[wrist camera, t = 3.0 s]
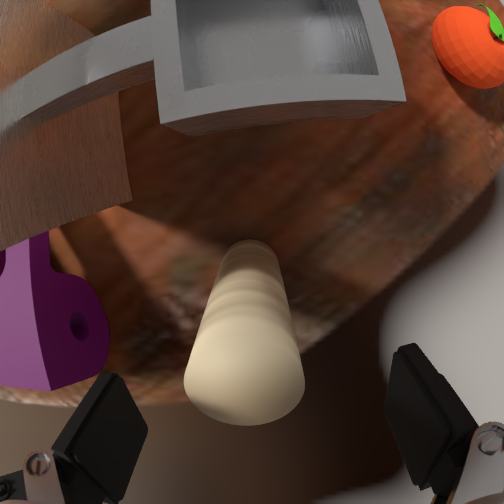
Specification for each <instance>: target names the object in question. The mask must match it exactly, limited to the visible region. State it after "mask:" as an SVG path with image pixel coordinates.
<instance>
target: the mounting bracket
mask: <svg viewBox="0 0 504 504" xmlns="http://www.w3.org/2000/svg"><path fill="white" fill-rule="evenodd" d="M109 343H110V336H109V326H108V321H107V317H106V315H105V313H104V311H103V309H102V306H101V304H100V302H99V300H98V297H97V295H96V293H95V290H94V289H93V288H92V287H91V286H90V284H89V283H87V282H86V281H85V280H84V279H82V278H80V277H78V276H76V275H71V274H63V273H57V272H55V271H54V270H53V269H52V267H51V264H50V255H49V230H48V231H46V232H44V233H41V234H39V235H36V236H34V237H32V238H29V239H27V240H25V241H22V242H20V243H18V244H15V245H13V246H11V247H9V248H7V249H4V250H2V251H0V385H4V386H11V387H18V388H26V389H35V390H45V391H53V390H56V389H59V388H62V387H65V386H68V385H71V384H74V383H76V382H79V381H82V380H85V379H88V378H91V377H93V376H95V375H96V374H98V373H99V372H100V371H101V369H102V368H103V366H104V364H105V362H106V360H107V356H108V352H109Z"/></svg>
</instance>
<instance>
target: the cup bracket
mask: <svg viewBox="0 0 504 504" xmlns="http://www.w3.org/2000/svg"><path fill="white" fill-rule="evenodd" d="M153 80H156V90H157V100H158V109H159V117H160V124H161V125H164V126H166V127H169V128H171V129H173V130H176V131H178V132H180V133H183V134H185V135H187V136H189V137H195V136H200V135H205V134H210V133H216V132H222V131H228V130H234V129H241V128H248V127H255V126H263V125H271V124H280V123H290V122H302V121H315V120H333V119H362V118H365V117H367V116H370V115H372V114H375V113H377V112H380V111H382V110H385V109H388V108H390V107H393V106H396V105H398V104H401V103H404V102H406V96H405V91H404V86H403V81H402V77H401V73H400V68H399V64H398V60H397V57H396V53H395V49H394V46H393V42H392V39H391V36H390V32H389V29H388V26H387V23H386V20H385V17H384V14H383V12H382V9H381V6H380V4H379V1H378V0H151V16H148V17H145V18H142V19H139V20H136V21H133V22H130V23H127V24H125V25H122V26H119V27H117V28H114V29H112V30H109V31H107V32H105V33H102V34H100V35H98V36H96V35H94V34H93V33H92V32H90V31H89V30H87V29H86V28H84V27H83V26H81V25H80V24H78V23H77V22H76V21H74V20H72V19H71V18H69V17H68V16H66V15H65V14H63V13H62V12H60V11H59V10H57V9H55V8H54V7H52V6H51V5H49V4H47V3H46V2H44V1H43V0H0V251H2V250H4V249H7V248H9V247H11V246H13V245H15V244H18V243H20V242H22V241H25V240H27V239H29V238H32V237H34V236H36V235H39V234H41V233H44V232H46V231H48V230H51V229H53V228H56V227H59V226H61V225H64V224H66V223H69V222H72V221H74V220H77V219H80V218H82V217H85V216H88V215H91V214H93V213H96V212H99V211H102V210H105V209H108V208H111V207H114V206H117V205H120V204H123V203H126V202H129V201H132V195H131V189H130V184H129V178H128V172H127V165H126V158H125V151H124V144H123V136H122V127H121V118H120V107H119V95H118V92H119V91H121V90H124V89H127V88H130V87H133V86H136V85H140V84H143V83H146V82H150V81H153Z"/></svg>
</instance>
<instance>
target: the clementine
mask: <svg viewBox="0 0 504 504" xmlns="http://www.w3.org/2000/svg"><path fill="white" fill-rule="evenodd" d="M475 5H480V6H484V7H486V8H487V9H488V12H489V16H490V17H489V16H488V15H486V14H485V13H483V12H481V11H479V10H476V9H474V8H471V7H467V6H453V7H450V8H448V9H446V10H444V11H442V12H441V13H440V14H439V15H438V16H437V17H436V19H435V21H434V23H433V27H432V32H431V36H432V43H433V47H434V50H435V53H436V55H437V57H438V59H439V61H440V62H441V64H442V65H443V67H444V68H445V69H446V70H447V71H448V72H449V73H450V74H451V75H453V76H454V77H455V78H456V79H458V80H459V81H460V82H462V83H464V84H466V85H468V86H471V87H474V88H480V89H490V88H493V87H496V86H498V85H501V84H502V83H503V82H504V29H503V27H502V24H501V22H500V21H499V19H498V17H497V16H496V15H495V14H494V13H493V12H492V11H491V10H490V9H489V8H488V7H487V6H485V5H484V4H475Z"/></svg>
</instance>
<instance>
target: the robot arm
mask: <svg viewBox="0 0 504 504" xmlns="http://www.w3.org/2000/svg"><path fill="white" fill-rule="evenodd" d="M384 412H385V416H386V418H387V420H388V423H389V425H390V428H391V430H392V432H393V435H394V437H395V440H396V442H397V444H398V447H399V449H400V452H401V454H402V457H403V459H404V462H405V464H406V467H407V470H408V472H409V475H410V477H411V480H412V482H413V484H414V485H415V486H416V485H418V486H419V488H420V491H421V490H424V489H426V488H429V487H432V490H433V492H434V494H435V495H434V497H433V499H432V501H431V504H504V424H502V423H499V422H488V423H484V424H483V425H481V426H478V424H477V423H476V421H475V420H474V418H473V417H472V415H471V414H470V412H469V411H468V410H467V408H466V407H465V405H464V404H463V402H462V401H461V400H460V398H459V397H458V395H457V394H456V392H455V391H454V390H453V388H452V387H451V385H450V384H449V383H448V381H446V379H445V377H444V376H443V375H442V374H440V373H438V372H437V370H436V369H435V368H434V366H433V365H432V363H431V362H430V361H429V360H428V358H427V357H426V356H425V355H424V353H423V352H422V350H421V349H420V348H419V346H418V345H417V344H416V343H411V344H408V345H404V346H400V347H399V348H398V350H397V352H395V353H394V354H393V360H392V366H391V373H390V378H389V383H388V389H387V394H386V399H385V403H384ZM147 433H148V427H147V424H146V422H145V421H144V419H143V417H142V415H141V413H140V412H139V410H138V408H137V406H136V404H135V402H134V400H133V398H132V396H131V394H130V392H129V390H128V388H127V386H126V384H125V382H124V380H123V379H122V378H121V377H119V375H118V374H117V373H107V372H103V373H101V374H100V375H99V376H98V378H97V379H96V381H95V382H94V384H93V385H92V387H91V388H90V389H89V391H88V392H87V394H86V395H85V397H84V398H83V400H82V401H81V403H80V404H79V406H78V407H77V409H76V410H75V412H74V413H73V415H72V416H71V418H70V419H69V421H68V422H67V424H66V425H65V427H64V429H63V430H62V432H61V433H60V435H59V437H58V438H57V440H56V441H55V443H54V444H53V446H52V448H51V449H52V450H53V451H54V454H53V455H51V453H50V452H48V451H46V450H35V451H33V452H31V453H30V454H29V455H28V456H27V457H26V458H25V460H24V463H23V470H20V471H17V472H14V473H11V474H7V475H4V476H1V477H0V504H102V503H103V501H104V502H105V503H108V504H118V502H119V501H120V500H122V499H123V497H124V495H125V492H126V489H127V487H128V484H129V481H130V478H131V476H132V473H133V470H134V467H135V465H136V462H137V460H138V457H139V454H140V452H141V449H142V446H143V444H144V441H145V439H146V436H147Z"/></svg>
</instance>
